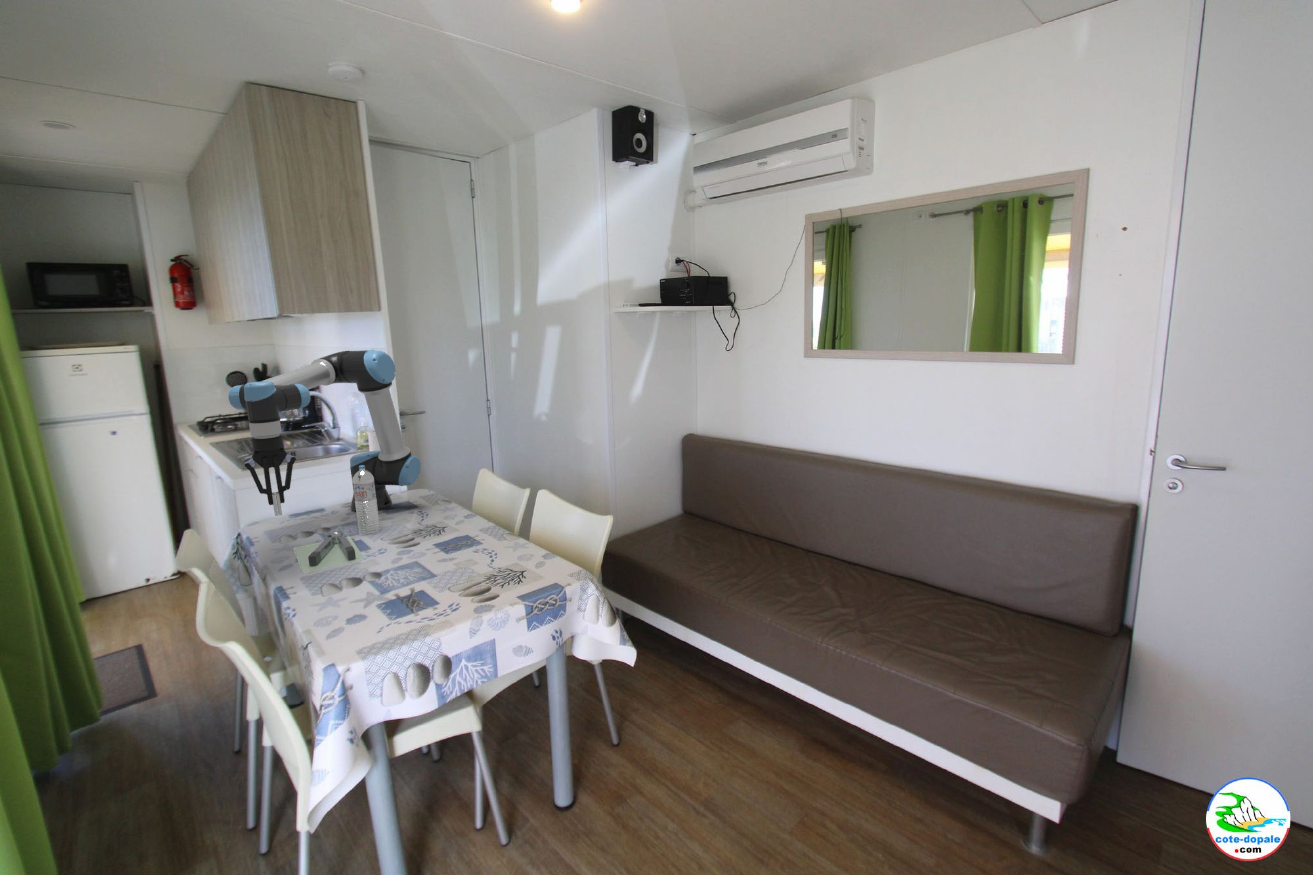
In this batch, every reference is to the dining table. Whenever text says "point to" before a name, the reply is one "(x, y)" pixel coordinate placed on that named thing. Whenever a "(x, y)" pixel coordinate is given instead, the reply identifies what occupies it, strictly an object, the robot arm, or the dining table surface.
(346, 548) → the tongs fixed
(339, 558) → the board
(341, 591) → the dining table surface
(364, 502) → the water bottle
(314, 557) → the bar
